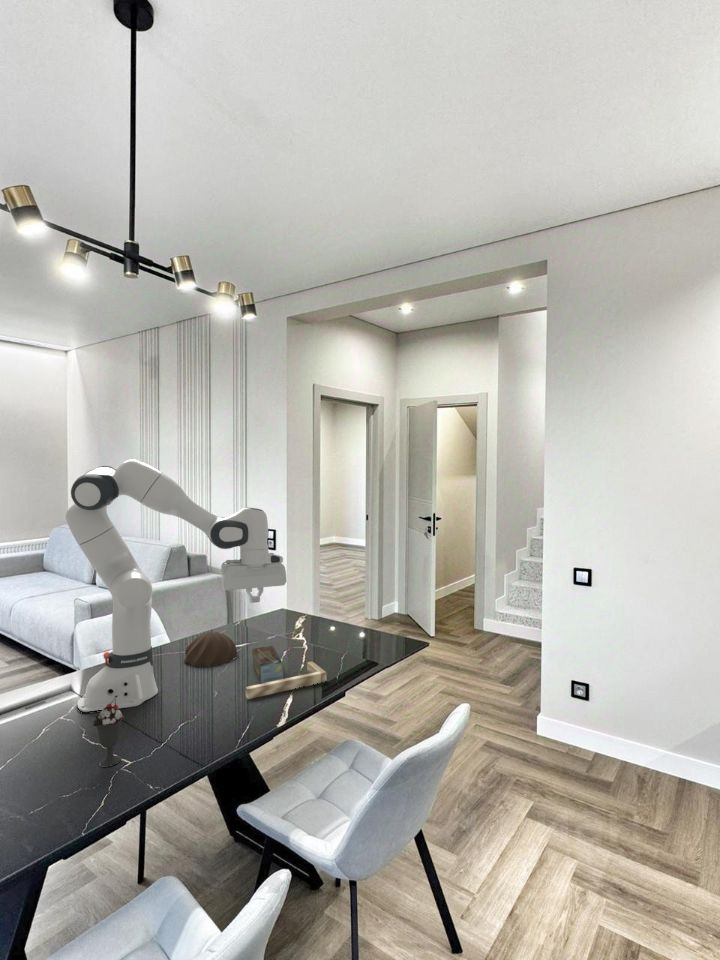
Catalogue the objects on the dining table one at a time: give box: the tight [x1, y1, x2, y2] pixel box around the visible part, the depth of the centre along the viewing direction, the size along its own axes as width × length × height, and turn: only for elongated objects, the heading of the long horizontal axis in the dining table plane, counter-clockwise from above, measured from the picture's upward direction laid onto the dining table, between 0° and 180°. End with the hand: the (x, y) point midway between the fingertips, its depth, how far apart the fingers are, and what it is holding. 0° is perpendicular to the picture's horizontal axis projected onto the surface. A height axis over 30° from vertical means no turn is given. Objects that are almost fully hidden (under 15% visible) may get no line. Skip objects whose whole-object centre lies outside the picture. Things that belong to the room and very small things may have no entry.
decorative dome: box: [183, 631, 238, 668], centre depth 196 cm, size 19×20×10 cm
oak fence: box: [245, 661, 328, 700], centre depth 168 cm, size 26×12×3 cm, turn 118°
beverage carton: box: [251, 645, 285, 684], centre depth 179 cm, size 8×19×7 cm, turn 19°
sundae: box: [92, 695, 126, 766], centre depth 123 cm, size 7×7×15 cm
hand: (254, 602), depth 165 cm, fingers closed
